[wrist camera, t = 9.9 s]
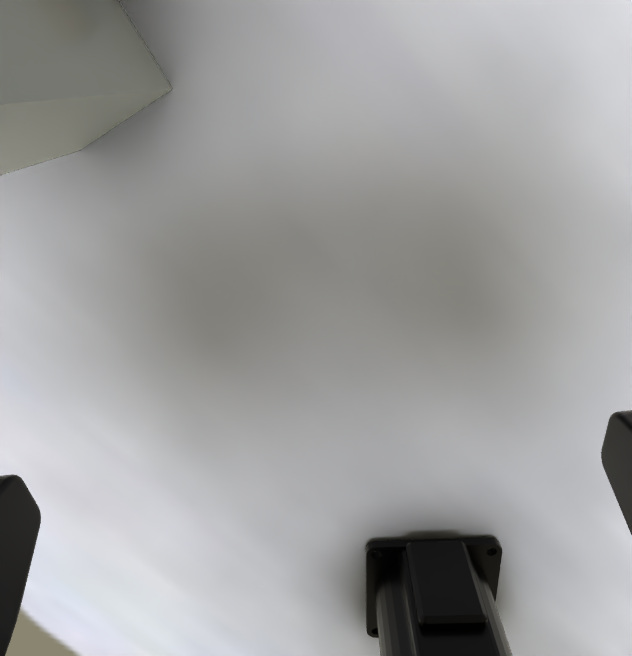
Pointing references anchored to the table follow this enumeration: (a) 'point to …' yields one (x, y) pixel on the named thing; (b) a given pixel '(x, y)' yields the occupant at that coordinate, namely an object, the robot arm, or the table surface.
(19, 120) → the slab
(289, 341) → the table surface
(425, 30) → the table surface
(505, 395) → the table surface
